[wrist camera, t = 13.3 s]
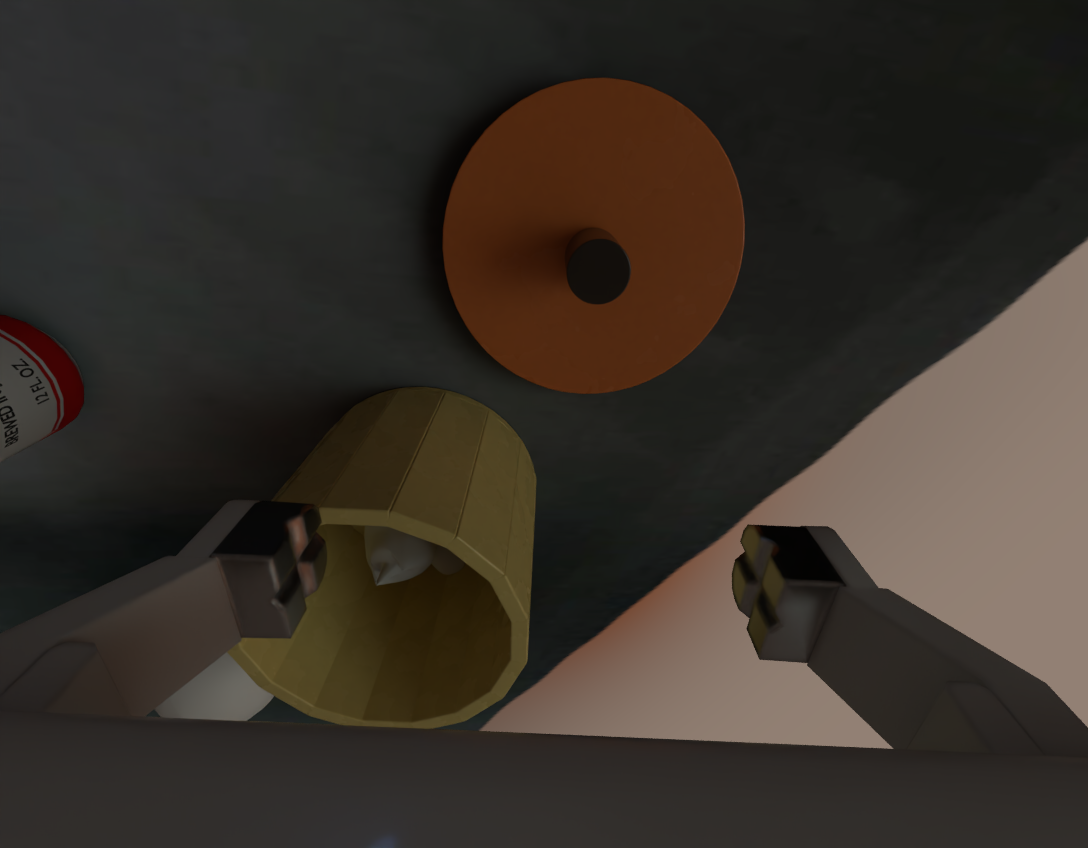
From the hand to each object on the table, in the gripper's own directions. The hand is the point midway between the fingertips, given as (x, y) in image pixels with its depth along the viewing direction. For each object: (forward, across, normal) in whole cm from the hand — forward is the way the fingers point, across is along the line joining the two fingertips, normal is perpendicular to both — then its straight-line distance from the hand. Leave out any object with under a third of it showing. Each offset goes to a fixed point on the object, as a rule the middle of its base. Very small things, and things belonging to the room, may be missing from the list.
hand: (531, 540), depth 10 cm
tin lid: (+16, -2, -3) cm, 16 cm away
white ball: (+17, +19, +22) cm, 34 cm away
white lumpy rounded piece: (+16, +6, +10) cm, 20 cm away
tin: (+16, +6, +10) cm, 20 cm away
